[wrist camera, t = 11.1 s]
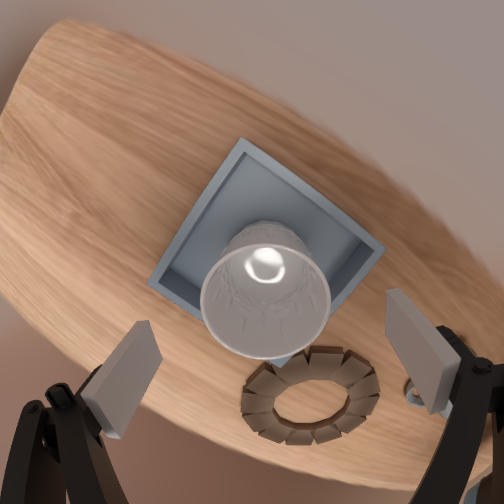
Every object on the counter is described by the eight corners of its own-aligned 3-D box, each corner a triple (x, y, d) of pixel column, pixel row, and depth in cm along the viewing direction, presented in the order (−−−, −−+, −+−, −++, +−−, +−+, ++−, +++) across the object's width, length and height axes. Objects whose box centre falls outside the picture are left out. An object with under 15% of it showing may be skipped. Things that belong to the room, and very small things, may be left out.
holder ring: (401, 381, 32) (404, 387, 30) (314, 450, 36) (314, 456, 35) (303, 321, 29) (304, 327, 28) (216, 408, 34) (215, 415, 33)
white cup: (314, 216, 26) (341, 249, 16) (304, 297, 28) (319, 362, 18) (224, 210, 26) (199, 238, 16) (222, 292, 28) (201, 354, 19)
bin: (371, 236, 26) (387, 248, 23) (279, 344, 30) (280, 368, 27) (245, 140, 25) (241, 136, 21) (161, 268, 28) (146, 283, 25)
